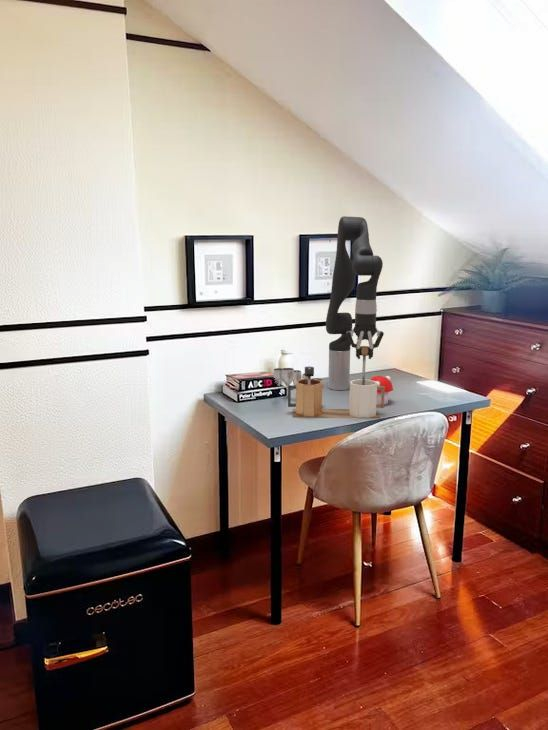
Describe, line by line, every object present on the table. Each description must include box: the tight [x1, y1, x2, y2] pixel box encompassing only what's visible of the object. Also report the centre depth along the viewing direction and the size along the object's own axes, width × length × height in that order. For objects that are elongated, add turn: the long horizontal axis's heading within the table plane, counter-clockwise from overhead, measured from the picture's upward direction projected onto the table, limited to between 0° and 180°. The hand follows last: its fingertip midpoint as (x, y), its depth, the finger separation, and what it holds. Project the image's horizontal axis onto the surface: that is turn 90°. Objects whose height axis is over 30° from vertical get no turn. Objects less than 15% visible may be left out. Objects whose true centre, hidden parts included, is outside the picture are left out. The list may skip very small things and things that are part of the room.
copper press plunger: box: [304, 366, 315, 385], centre depth 229 cm, size 7×7×16 cm
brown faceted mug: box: [287, 378, 323, 417], centre depth 229 cm, size 10×13×12 cm
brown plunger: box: [360, 345, 369, 385], centre depth 226 cm, size 7×7×16 cm
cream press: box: [348, 378, 385, 419], centre depth 229 cm, size 10×13×12 cm
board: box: [292, 408, 381, 419], centre depth 230 cm, size 11×32×1 cm, turn 88°
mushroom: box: [369, 375, 394, 405], centre depth 244 cm, size 11×11×12 cm
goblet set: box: [272, 367, 325, 399], centre depth 247 cm, size 28×6×13 cm, turn 39°
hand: (364, 358), depth 225 cm, fingers closed on brown plunger, 3 cm apart
